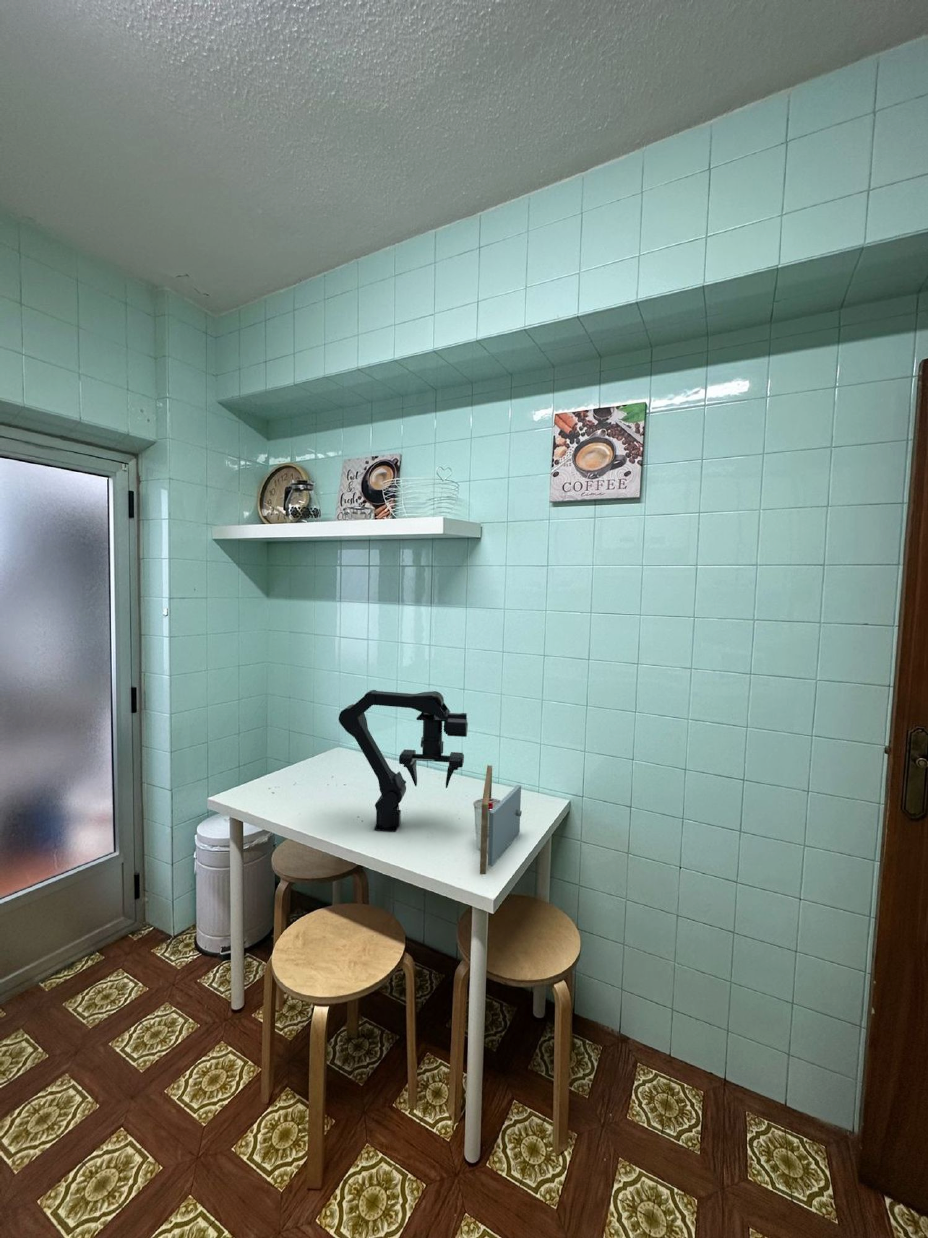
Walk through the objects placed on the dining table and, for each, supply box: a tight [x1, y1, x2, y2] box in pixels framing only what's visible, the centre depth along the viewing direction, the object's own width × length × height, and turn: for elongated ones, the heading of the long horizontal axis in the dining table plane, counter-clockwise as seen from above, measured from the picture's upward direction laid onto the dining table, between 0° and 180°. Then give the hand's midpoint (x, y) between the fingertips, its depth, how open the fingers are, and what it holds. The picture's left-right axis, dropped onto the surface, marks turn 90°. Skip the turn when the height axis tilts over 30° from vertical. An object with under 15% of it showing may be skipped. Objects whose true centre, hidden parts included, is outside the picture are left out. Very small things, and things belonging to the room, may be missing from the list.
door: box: [487, 784, 523, 867], centre depth 141 cm, size 2×21×14 cm, turn 154°
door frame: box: [479, 764, 493, 875], centre depth 142 cm, size 2×29×18 cm, turn 175°
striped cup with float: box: [472, 797, 501, 853], centre depth 142 cm, size 10×8×12 cm
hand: (431, 786), depth 151 cm, fingers open, 9 cm apart
